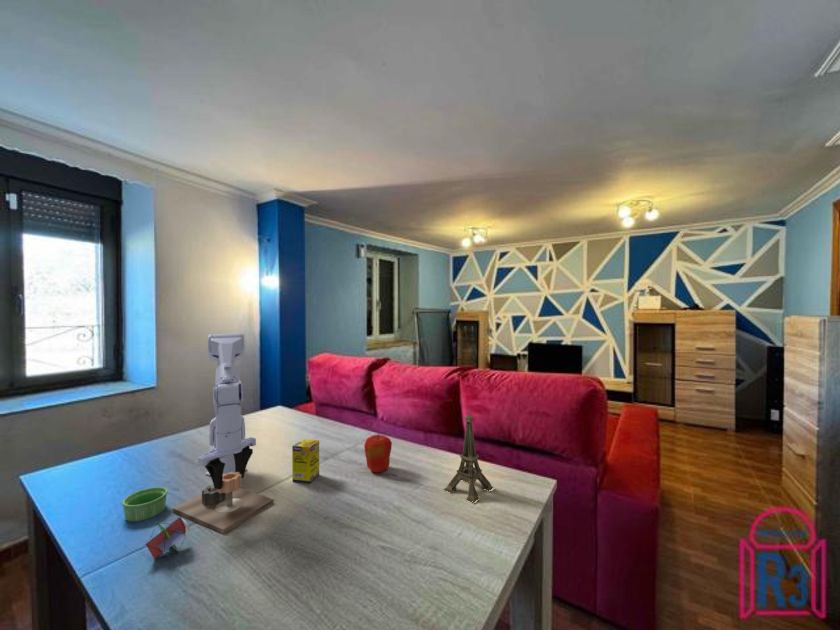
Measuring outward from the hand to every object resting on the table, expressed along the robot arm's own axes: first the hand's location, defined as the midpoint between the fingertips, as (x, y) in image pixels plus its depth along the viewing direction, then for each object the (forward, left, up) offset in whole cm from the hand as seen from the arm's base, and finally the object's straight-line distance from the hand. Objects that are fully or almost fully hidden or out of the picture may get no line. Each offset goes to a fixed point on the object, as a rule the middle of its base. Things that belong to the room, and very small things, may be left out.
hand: (229, 482), depth 89 cm
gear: (0, 0, -1) cm, 1 cm away
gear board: (-2, 0, -7) cm, 7 cm away
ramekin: (-18, -10, -7) cm, 22 cm away
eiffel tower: (+53, +36, -7) cm, 64 cm away
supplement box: (+6, +21, -7) cm, 23 cm away
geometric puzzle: (+3, -16, -7) cm, 18 cm away
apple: (+23, +35, -7) cm, 42 cm away
